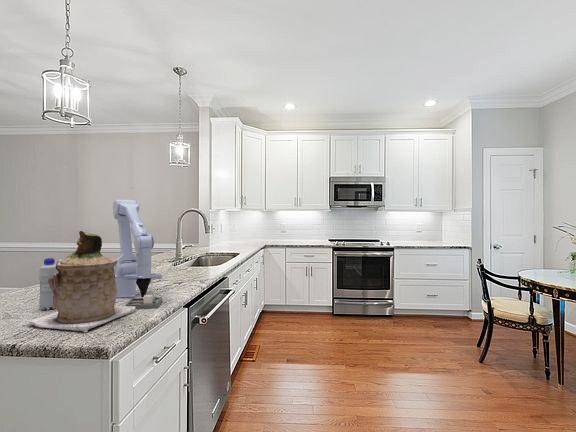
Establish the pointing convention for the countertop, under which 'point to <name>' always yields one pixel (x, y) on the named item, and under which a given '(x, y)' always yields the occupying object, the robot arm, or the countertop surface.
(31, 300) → the countertop surface
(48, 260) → the bottle
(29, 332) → the countertop surface
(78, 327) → the cookie jar
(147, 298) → the tab
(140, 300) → the tray
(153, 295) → the tab
